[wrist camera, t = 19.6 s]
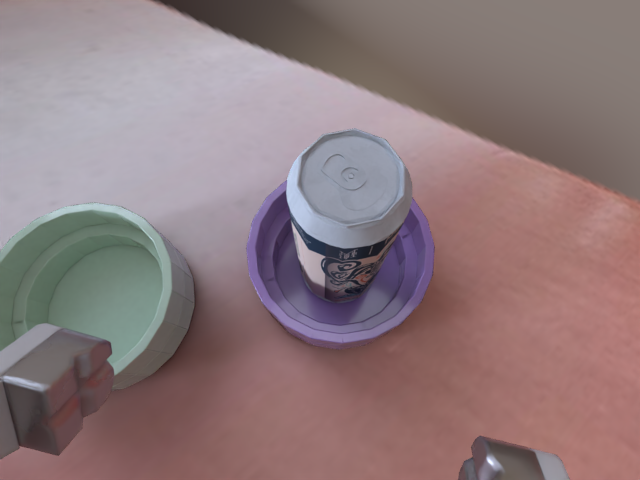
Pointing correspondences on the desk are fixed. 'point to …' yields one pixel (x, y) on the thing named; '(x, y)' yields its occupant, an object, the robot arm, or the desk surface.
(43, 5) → the desk surface
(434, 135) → the desk surface
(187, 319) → the celadon bowl
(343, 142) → the white cylindrical canister
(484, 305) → the desk surface
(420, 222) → the lavender bowl
